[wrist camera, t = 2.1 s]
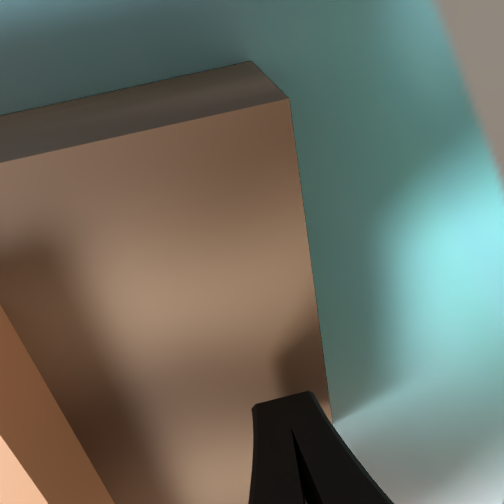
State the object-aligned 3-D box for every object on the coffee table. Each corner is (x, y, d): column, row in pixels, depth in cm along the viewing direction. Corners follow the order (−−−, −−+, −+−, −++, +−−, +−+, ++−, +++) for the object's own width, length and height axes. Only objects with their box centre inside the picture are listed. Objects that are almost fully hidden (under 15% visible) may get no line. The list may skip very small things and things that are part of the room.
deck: (314, 435, 19) (348, 539, 15) (-98, 541, 18) (-160, 674, 15) (251, 60, 11) (289, 99, 8) (-447, 212, 11) (-734, 325, 7)
